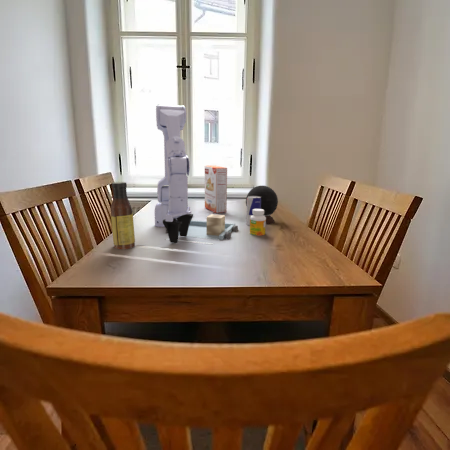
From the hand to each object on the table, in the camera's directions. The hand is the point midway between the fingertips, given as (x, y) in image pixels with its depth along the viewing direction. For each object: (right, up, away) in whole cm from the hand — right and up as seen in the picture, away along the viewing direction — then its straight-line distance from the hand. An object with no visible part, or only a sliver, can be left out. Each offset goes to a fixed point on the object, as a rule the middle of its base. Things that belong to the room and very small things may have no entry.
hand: (178, 239), depth 108 cm
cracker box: (+10, +11, +56) cm, 58 cm away
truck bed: (+7, +1, +12) cm, 14 cm away
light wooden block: (+11, +2, +9) cm, 15 cm away
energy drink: (+25, +3, +24) cm, 35 cm away
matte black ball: (+30, +6, +35) cm, 46 cm away
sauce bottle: (-16, -3, -4) cm, 17 cm away
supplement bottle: (+26, 0, +11) cm, 28 cm away
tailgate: (+4, 0, +3) cm, 5 cm away
